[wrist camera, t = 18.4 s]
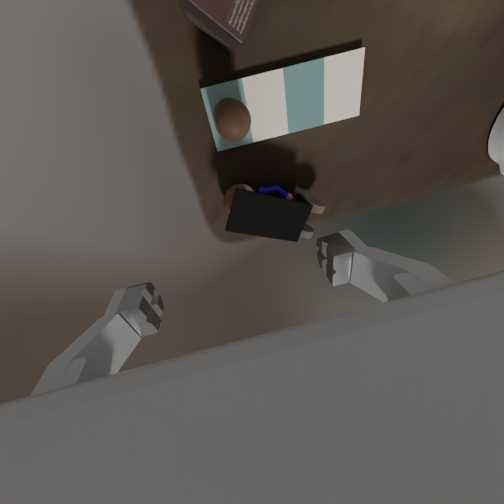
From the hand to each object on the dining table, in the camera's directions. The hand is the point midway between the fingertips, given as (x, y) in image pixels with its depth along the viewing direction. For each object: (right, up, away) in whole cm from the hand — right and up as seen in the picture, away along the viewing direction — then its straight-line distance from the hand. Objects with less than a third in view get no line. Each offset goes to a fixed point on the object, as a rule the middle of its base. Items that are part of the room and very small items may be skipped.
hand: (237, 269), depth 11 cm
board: (+5, +20, +18) cm, 27 cm away
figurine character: (+4, +9, +26) cm, 28 cm away
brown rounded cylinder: (-2, +18, +17) cm, 25 cm away
